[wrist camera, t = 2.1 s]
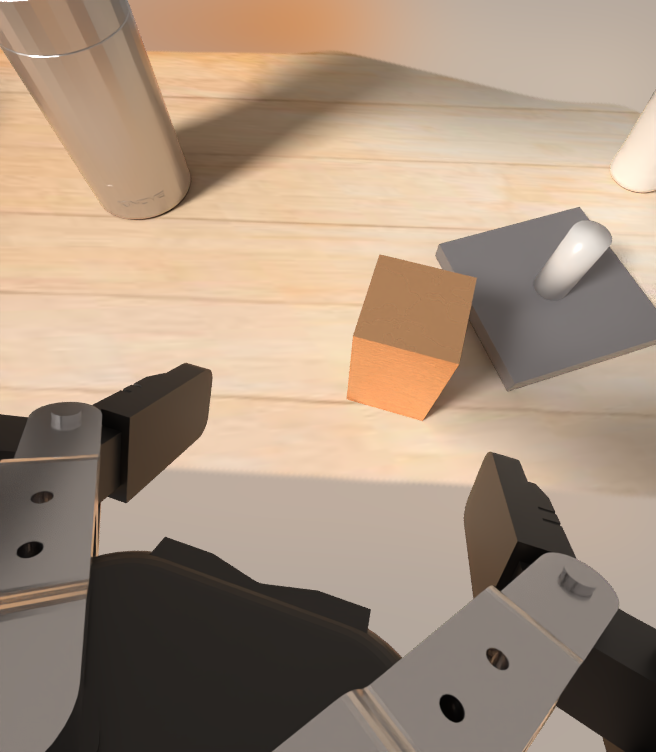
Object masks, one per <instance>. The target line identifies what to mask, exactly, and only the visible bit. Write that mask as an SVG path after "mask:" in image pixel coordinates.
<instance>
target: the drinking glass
mask: <svg viewBox="0 0 656 752" xmlns="http://www.w3.org/2000/svg"><path fill="white" fill-rule="evenodd" d="M610 173H611V175H612V177H613V179H614V180H615V181H616V182H617V183H618V184H619V185H620V186H622V187H624V188H625V189H628V190H630V191H634V192H641V193H645V192H651V191H655V190H656V90H655V92H654V93H653V95H652V97H651V98H650V100H649V102H648V104H647V105H646V107H645V108H644V110H643V112H642V113H641V115H640V117H639V119H638V120H637V122H636V124H635V125H634V127H633V129H632V130H631V132H630V134H629V135H628V137H627V139H626V140H625V142H624V144H623V145H622V147H621V148H620V149H619V151H618V152H617V154H616V155H615V157H614V158H613V160H612V162H611V165H610Z"/></svg>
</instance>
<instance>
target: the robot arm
mask: <svg viewBox="0 0 656 752" xmlns="http://www.w3.org/2000/svg"><path fill="white" fill-rule="evenodd" d="M0 47H1V49H2V50H3V52H4V53H5V55H6V56H7V58H8V60H9V61H10V63H11V64H12V66H13V67H14V69H15V71H16V72H17V74H18V75H19V77H20V78H21V80H22V82H23V83H24V85H25V86H26V88H27V89H28V91H29V93H30V94H31V96H32V97H33V99H34V100H35V102H36V103H37V105H38V107H39V108H40V110H41V111H42V113H43V114H44V116H45V118H46V119H47V121H48V122H49V124H50V125H51V127H52V129H53V130H54V132H55V133H56V135H57V136H58V138H59V140H60V141H61V143H62V144H63V146H64V147H65V149H66V150H67V152H68V154H69V155H70V157H71V158H72V160H73V161H74V163H75V165H76V166H77V168H78V170H79V171H80V173H81V174H82V176H83V177H84V179H85V181H86V182H87V184H88V185H89V187H90V188H91V190H92V191H93V193H94V195H95V196H96V198H97V199H98V201H99V202H100V204H101V205H102V206H103V207H104V209H105V210H107V211H108V212H110V213H111V214H113V215H116V216H118V217H121V218H127V219H145V218H151V217H154V216H157V215H160V214H162V213H164V212H166V211H169V210H170V209H172V208H173V207H174V206H176V205H177V204H178V203H179V202H180V201H181V200H182V199H183V198H184V197H185V195H186V193H187V192H188V190H189V186H190V179H191V176H190V173H189V169H188V167H187V164H186V161H185V158H184V155H183V153H182V150H181V147H180V144H179V142H178V139H177V136H176V133H175V130H174V127H173V124H172V122H171V119H170V116H169V113H168V111H167V108H166V105H165V102H164V99H163V97H162V94H161V91H160V88H159V86H158V83H157V80H156V77H155V75H154V72H153V69H152V66H151V63H150V61H149V58H148V55H147V52H146V50H145V47H144V44H143V41H142V39H141V36H140V33H139V30H138V27H137V25H136V22H135V19H134V16H133V14H132V11H131V8H130V5H129V3H128V1H127V0H0ZM211 387H212V372H211V370H209V369H205V368H202V367H199V366H195V365H192V364H188V363H184V364H182V365H180V366H178V367H176V368H174V369H173V370H171V371H169V372H167V373H163V374H158V375H153V376H149V377H146V378H144V379H142V380H140V381H138V382H136V383H134V385H130V386H128V387H126V388H124V389H123V391H121V390H120V391H119V392H117V393H115V394H113V395H111V396H109V397H107V398H105V399H103V400H101V401H99V402H97V403H95V404H93V405H89V404H85V403H79V402H61V403H54V404H49V405H46V406H43V407H40V408H38V409H36V410H35V411H33V412H32V413H31V414H30V415H29V417H19V416H10V415H1V414H0V752H526V751H527V750H528V748H529V747H530V745H531V744H532V742H533V741H534V739H535V738H536V736H537V735H538V733H539V732H540V730H541V729H542V727H543V726H544V724H545V723H546V721H547V720H548V718H549V717H550V715H551V714H552V712H553V711H554V709H555V707H556V706H557V707H558V708H560V709H561V710H563V711H564V712H566V713H568V714H569V715H570V716H572V717H573V718H575V719H576V720H578V721H579V722H581V723H583V724H584V725H586V726H587V727H588V728H590V729H591V730H593V731H594V732H596V733H597V734H599V735H600V736H602V737H603V741H604V745H605V748H606V752H656V629H655V628H653V627H651V626H649V625H647V624H646V623H643V622H642V621H640V620H638V619H636V618H634V617H633V616H630V615H629V614H627V613H625V612H624V611H622V610H620V609H619V600H618V597H617V595H616V592H615V591H614V589H613V588H612V586H611V585H610V584H609V583H608V582H607V581H606V580H605V579H604V578H603V577H602V576H601V575H600V574H599V573H598V572H596V571H595V570H594V569H592V568H591V567H590V566H588V565H586V564H585V563H583V562H581V561H579V560H577V559H576V557H575V554H574V552H573V550H572V548H571V546H570V543H569V541H568V539H567V537H566V535H565V532H564V530H563V528H562V527H561V526H560V521H559V519H558V517H557V515H556V514H555V510H554V508H553V506H552V504H551V502H550V500H549V498H548V497H547V496H546V495H545V493H544V492H543V491H542V490H541V489H540V488H539V487H538V486H537V485H536V484H534V483H531V482H528V481H527V479H526V476H525V474H524V471H523V469H522V466H521V464H520V461H519V460H517V459H513V458H510V457H507V456H503V455H500V454H496V453H493V452H488V453H487V455H486V456H485V458H484V460H483V463H482V465H481V468H480V470H479V473H478V475H477V477H476V480H475V482H474V485H473V487H472V490H471V492H470V495H469V497H468V500H467V503H466V507H465V513H464V527H465V535H466V543H467V551H468V559H469V566H470V575H471V583H472V591H473V600H472V601H470V602H469V603H468V604H467V605H466V606H464V607H463V608H462V609H461V610H460V611H459V612H457V613H456V614H455V615H454V616H453V617H451V618H450V619H449V620H448V621H446V622H445V623H444V624H443V625H442V626H441V627H439V628H438V629H437V630H435V631H434V632H433V633H432V634H431V635H429V636H428V637H427V638H426V639H425V640H423V641H422V642H421V643H420V644H419V645H417V646H416V647H415V648H414V649H413V650H411V651H410V652H409V653H408V654H407V655H405V656H404V657H403V658H402V657H401V656H400V655H399V654H398V653H397V652H396V651H395V650H394V649H393V648H392V647H391V646H390V645H389V644H388V643H386V642H385V641H384V640H383V639H381V638H380V637H379V636H378V635H376V634H375V633H374V632H372V631H371V630H369V629H368V623H369V617H370V611H371V610H370V609H368V608H365V607H362V606H360V605H357V604H354V603H351V602H348V601H345V600H342V599H340V598H337V597H334V596H331V595H328V594H326V593H323V592H320V591H316V590H308V589H300V588H292V587H284V586H275V585H268V584H261V583H259V582H256V581H254V580H252V579H251V578H250V577H248V576H247V575H245V574H243V573H242V572H240V571H239V570H237V569H236V568H234V567H233V566H231V565H230V564H228V563H227V562H225V561H223V560H222V559H220V558H219V557H217V556H216V555H214V554H212V553H209V552H207V551H204V550H201V549H198V548H195V547H193V546H190V545H187V544H184V543H181V542H178V541H175V540H173V539H170V538H167V537H165V538H164V539H163V540H162V541H161V542H160V543H159V544H158V546H157V547H156V548H155V549H154V550H153V551H152V552H150V551H125V552H124V551H123V552H115V553H109V554H104V555H100V556H99V537H100V536H99V535H100V518H101V502H102V501H103V500H104V499H105V498H106V497H110V498H113V499H116V500H118V501H121V502H124V503H127V502H129V500H131V499H132V498H133V497H134V496H135V495H136V494H137V493H138V492H140V490H142V489H143V488H144V487H145V486H146V485H147V484H148V483H150V481H152V480H153V479H154V478H155V477H156V476H157V475H158V474H160V473H161V472H162V471H163V470H164V469H165V468H166V467H167V466H168V465H169V464H171V463H172V462H173V461H174V460H175V459H176V458H177V457H178V456H179V455H181V454H182V453H183V452H184V451H185V450H186V449H187V448H188V447H189V446H191V445H192V444H193V443H194V442H195V441H196V440H197V439H198V438H199V437H200V436H201V435H202V433H203V431H204V429H205V427H206V424H207V420H208V413H209V404H210V396H211Z"/></svg>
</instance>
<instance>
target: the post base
mask: <svg viewBox="0 0 656 752" xmlns="http://www.w3.org/2000/svg"><path fill="white" fill-rule="evenodd" d="M611 243H612V236H611V234H610V232H609V231H608V229H607V228H606V227H604V226H603V225H601V224H599V223H597V222H594V221H590V220H589V219H588V218H587V216H586V215H585V214H584V212H583V211H582V210H581V208H580V207H577V208H574V209H570V210H566V211H562V212H558V213H555V214H551V215H547V216H543V217H540V218H536V219H532V220H528V221H525V222H521V223H517V224H513V225H509V226H506V227H502V228H498V229H494V230H491V231H487V232H483V233H479V234H476V235H472V236H468V237H464V238H460V239H457V240H453V241H449V242H445V243H442V244H439V246H438V249H437V252H436V255H435V256H436V258H437V260H438V262H439V264H440V265H441V267H442V269H443V270H446V271H451V272H455V273H459V274H463V275H467V276H471V277H476V278H477V280H476V285H475V290H474V295H473V299H472V304H471V309H470V314H469V320H470V322H471V324H472V326H473V328H474V329H475V331H476V333H477V335H478V337H479V339H480V341H481V343H482V344H483V346H484V348H485V350H486V352H487V354H488V356H489V358H490V360H491V361H492V363H493V365H494V367H495V369H496V371H497V373H498V375H499V376H500V378H501V380H502V382H503V384H504V386H505V388H506V390H507V391H510V390H514V389H517V388H520V387H523V386H526V385H529V384H533V383H536V382H539V381H542V380H545V379H548V378H551V377H555V376H558V375H561V374H564V373H567V372H570V371H574V370H577V369H580V368H583V367H586V366H589V365H592V364H596V363H599V362H602V361H605V360H608V359H611V358H615V357H618V356H621V355H624V354H627V353H630V352H633V351H637V350H640V349H643V348H646V347H649V346H652V345H656V308H655V307H654V306H653V304H652V303H651V302H650V300H649V299H648V298H647V296H646V295H645V294H644V292H643V291H642V290H641V288H640V287H639V286H638V284H637V283H636V282H635V280H634V279H633V278H632V276H631V275H630V274H629V272H628V271H627V270H626V268H625V267H624V266H623V264H622V263H621V262H620V260H619V259H618V258H617V256H616V255H615V254H614V252H613V251H612V250H611V248H610V247H609V246H610V245H611Z"/></svg>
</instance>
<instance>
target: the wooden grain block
mask: <svg viewBox="0 0 656 752" xmlns="http://www.w3.org/2000/svg"><path fill="white" fill-rule="evenodd" d="M476 280H477V278H476V277H471V276H467V275H463V274H459V273H455V272H451V271H446V270H442V269H438V268H434V267H430V266H426V265H421V264H417V263H413V262H409V261H405V260H401V259H396V258H392V257H388V256H384V255H379V258H378V261H377V264H376V267H375V270H374V273H373V276H372V279H371V282H370V286H369V289H368V292H367V295H366V298H365V301H364V304H363V307H362V310H361V313H360V316H359V319H358V322H357V325H356V329H355V332H354V335H353V342H352V351H351V361H350V371H349V381H348V391H347V399H348V400H351V401H355V402H358V403H362V404H365V405H369V406H372V407H376V408H379V409H383V410H386V411H390V412H393V413H397V414H400V415H404V416H407V417H411V418H414V419H418V420H421V421H423V419H424V418H425V416H426V415H427V413H428V412H429V410H430V409H431V407H432V405H433V404H434V402H435V401H436V399H437V398H438V396H439V395H440V393H441V392H442V390H443V389H444V387H445V386H446V384H447V382H448V381H449V379H450V378H451V376H452V375H453V373H454V372H455V370H456V369H457V367H458V366H459V363H460V358H461V353H462V349H463V344H464V339H465V334H466V329H467V324H468V319H469V314H470V309H471V304H472V299H473V295H474V290H475V285H476Z"/></svg>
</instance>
